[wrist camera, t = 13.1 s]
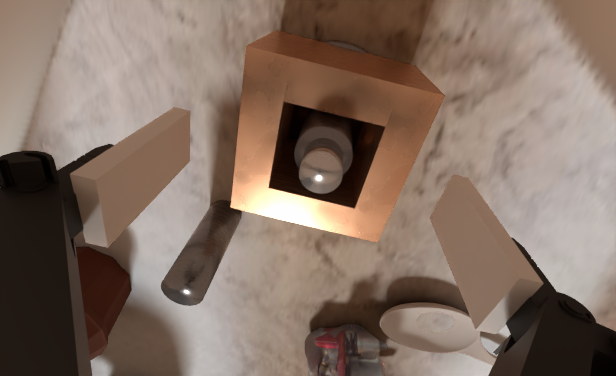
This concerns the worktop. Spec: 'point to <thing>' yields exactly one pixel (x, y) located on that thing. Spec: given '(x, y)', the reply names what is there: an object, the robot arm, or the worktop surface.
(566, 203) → the worktop surface
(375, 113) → the collar
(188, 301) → the stand rod
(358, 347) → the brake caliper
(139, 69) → the worktop surface
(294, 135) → the cylinder
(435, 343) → the spoon
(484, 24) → the worktop surface
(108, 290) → the muffin
